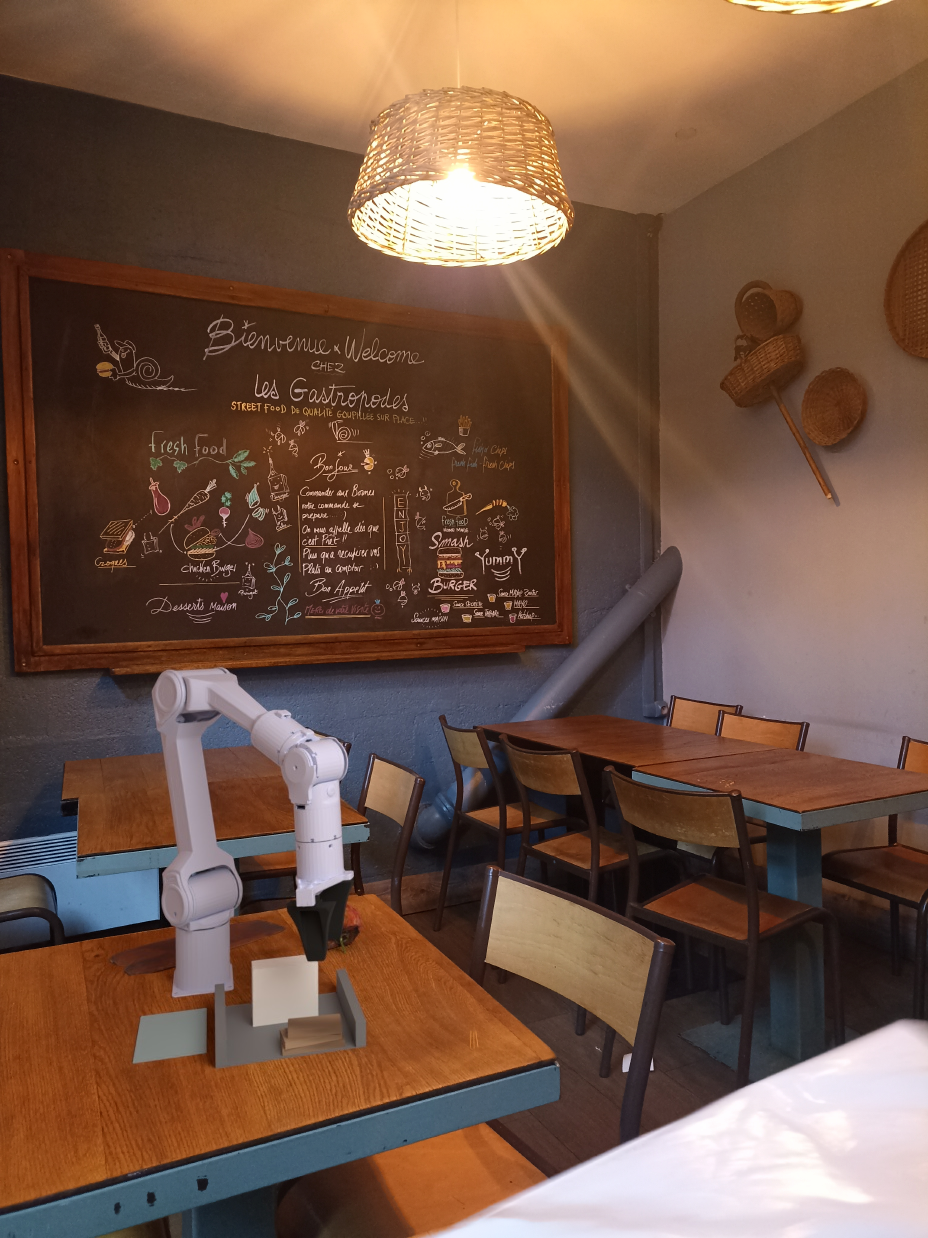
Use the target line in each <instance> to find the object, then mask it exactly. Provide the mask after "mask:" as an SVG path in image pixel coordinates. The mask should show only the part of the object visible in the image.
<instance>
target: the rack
mask: <svg viewBox="0 0 928 1238" xmlns="http://www.w3.org/2000/svg"><path fill="white" fill-rule="evenodd" d="M335 972H336V977H335V978H336V991H334V992H328V993H318V1016H321V1015H332V1014H340V1017H341V1024H342V1032H343V1035H344V1038H345V1047H342V1048H335V1049H329V1050H322V1051H315V1052H308V1053H301V1054H294V1055H288V1056H282V1050H281V1044H280V1029H284V1028H288V1022H285V1023H278V1024H270V1025H263V1026H256V1027H253V1022H252V1002H250V1003H242V1004H233V1005H226V994H225V993H226V991H225V989H224V983H223V984H215V992H214V1044H215V1045H214V1047H215V1048H214V1049H215V1051H214V1052H215V1055H214V1057H215V1069H223V1068H230V1067H237V1066H242V1065H250V1064H256V1063H262V1062H263V1063H264V1062H270V1061H277V1060H284V1059H290V1058H298V1057H303V1056H304V1057H305V1056H310V1055H318V1054H325V1053H330V1052H331V1053H332V1052H337V1051H344V1050H351V1049H359V1048H364V1047H367V1019H366V1017H365V1014H364V1013H363V1009H362V1006H361V1005H360V1002H359V999H358V997H357V995H356V992H355V990H354V987H353V985H352V982H351V980H350V977H349V974H348V972H347V969H346V968H339V969H336V970H335Z"/></svg>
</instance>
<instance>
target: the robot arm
mask: <svg viewBox="0 0 928 1238" xmlns="http://www.w3.org/2000/svg"><path fill="white" fill-rule="evenodd" d="M237 677H238V676H237V675H235V674H233V673H232V672H230V671H229V670H228V669H226V668H224V667H222V666H221V667H220V666H219V667H214V668H206V669H205V668H203V669H202V668H201V669H199V668H198V669H183V670H182V669H181V670H179V669H178V670H175V669H166V670H164V671H162V672H161V674H160V675H159V676H158V678H157V680H156V682H155V683H154V685H153V688H152V690H151V697H152V703H153V711H154V712H153V713H154V718H155V725H156V730H157V732H159V733H160V739H161V745H162V753H163V758H164V766H165V772H166V779H167V785H168V786H167V787H168V793H169V799H170V800H169V801H170V806H171V807H170V808H171V815H172V821H173V829H174V836H175V841H176V848H177V849H176V850H177V855H176V856H175V858H174V859H173V860H172V862H171V863H170V864H169V865H168V866H166V868H165V869H164V871H163V872H162V884H163V885H162V894H161V908H162V912H163V914H164V916H165V918H166V920H167V921H168V922H169V923H170V925H171V926H173V927H175V937H176V966H175V970H174V971H173V981H172V982H173V983H172V992H171V997H172V998H181V997H187V996H196V995H204V994H205V995H206V994H213V993H214V994H215V984H223V983H224V989H225V992H229V991H232V990H234V988H235V987H234V977H233V975H234V974H233V964H232V963H231V956H230V955H231V949H230V924H231V922H230V920H231V918H234V917H235V909H237V908H238V907H239V906H240V905H241V902H242V898H243V890H244V889H243V881H242V880H241V877H240V876H239V873H238V871H237V869H236V866H235V861H234V859H235V858H234V856H232V855H231V854H230V853H228V852H227V851H225V850H223V849H221V847H218V844H217V842H218V841H217V836H216V830H215V823H214V816H213V811H212V810H213V809H212V804H211V797H210V796H211V795H210V789H209V785H208V784H209V782H208V778H207V770H206V764H205V757H204V751H203V745H202V736H203V734H204V733H205V731H206V730H207V728H209V727H211V726H213V724H214V723H216V721H217V720H218V719H219V718H220V717H221V716H222V715H223V716H225V717H226V718H228V719H229V720H230V721H232V722H233V723H235V724H237V725H238V726H240V727H241V728H243V729H245V730H246V731H247V732H249V733H250V742H251V744H252V746H253V747H254V748H255V749H257V750H258V751H259V752H260V753H262V754H263V755H264V756H266V757H267V758H268V759H269V760H271V761H272V762H273V763H275V764H276V765H277V766H278V767H280V771H281V776H282V779H283V781H284V783H285V784H286V787H287V790H288V799H289V800H290V803H291V804H293V816H294V817H293V819H294V836H295V837H294V839H295V841H294V843H295V855H296V858H295V859H296V860H295V861H296V875H295V884H296V890H295V897H296V898H295V899H290V900H289V901H288V902H287V904H286V912H287V914H288V915H289V916H290V918H291V920H292V922H293V923H294V925H295V927H296V929H297V932H298V934H299V938H300V941H301V944H302V945H301V946H302V949H303V952H304V955H305V956H306V959H307V961H308V962H314V961H318V962H325V960H326V959H327V953H328V949H327V947H328V940H340V939H341V936H342V931H343V924H344V916H345V909H346V904H348V900H349V896H350V894H351V890H352V889H353V886H354V884H355V883H354V882H355V879H354V870H345V868H344V866H345V865H344V863H345V862H344V849H343V845H344V844H343V832H342V831H343V829H342V812H341V807H342V806H341V794H340V793H341V792H340V791H341V789H340V781H341V780H343V779H344V778H345V776H346V774H347V772H348V768H349V759H348V757H349V756H348V753H347V751H346V748H345V747H344V745H343V744H342V743H341V742H339V740H338V738H336V737H335V736H334V737H333V736H327V737H321V736H317V735H315V732H314V731H313V730H312V729H310V728H306V727H304V725H302V724H300V723H299V722H298V721H297V720H295V719H293V717H292V713H291V712H290V711H288V710H287V709H273V710H267V709H266V708H265V707H263V705H262V704H260V703H259V702H258V701H257V700H256V699H254V698H253V697H252V696H251V695H250V694H249V693H248V692H247V691H246V690H244V688H242V687H241V686H240V685H239V681H238V678H237ZM206 870H208V871H206ZM201 871H204V872H201ZM197 872H200V873H197ZM195 873H197V874H195ZM193 874H194V875H193Z"/></svg>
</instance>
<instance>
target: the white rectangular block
mask: <svg viewBox="0 0 928 1238" xmlns="http://www.w3.org/2000/svg"><path fill="white" fill-rule="evenodd" d="M318 994H319V961H314V962H308V961H307V959H306V956H305V954H300V955H299V954H298V955H293V956H284V957H283V956H282V957H274V958H273V957H272V958H266V959H257V960H256V959H255V960H251V1003H252V1022H253V1027H256V1026H263V1025H270V1024H278V1023H285V1022H288V1019H290V1018H300V1017H311V1016H318Z"/></svg>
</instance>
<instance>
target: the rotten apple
mask: <svg viewBox="0 0 928 1238" xmlns="http://www.w3.org/2000/svg"><path fill="white" fill-rule="evenodd" d="M356 909H357V908H355V907H353V906H351V905H349V904H348V903H347V904H346V909H345V916H344V924H343V931H342V936H341V939H340V940H328V947H327V951H328V950H332V949H335V948H338V947H337V946H339V947H341V948H342V951H343V953H344V954H346V951H345V950H346V949H345V948H346V946H347V945H350V944H352V943H354V942H355V940H356V938H357V937H359V934H360V933H361V932H362V930H363V929H362V928H363V920H362V915H361V914H360V913H359V912H358V910H356Z"/></svg>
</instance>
